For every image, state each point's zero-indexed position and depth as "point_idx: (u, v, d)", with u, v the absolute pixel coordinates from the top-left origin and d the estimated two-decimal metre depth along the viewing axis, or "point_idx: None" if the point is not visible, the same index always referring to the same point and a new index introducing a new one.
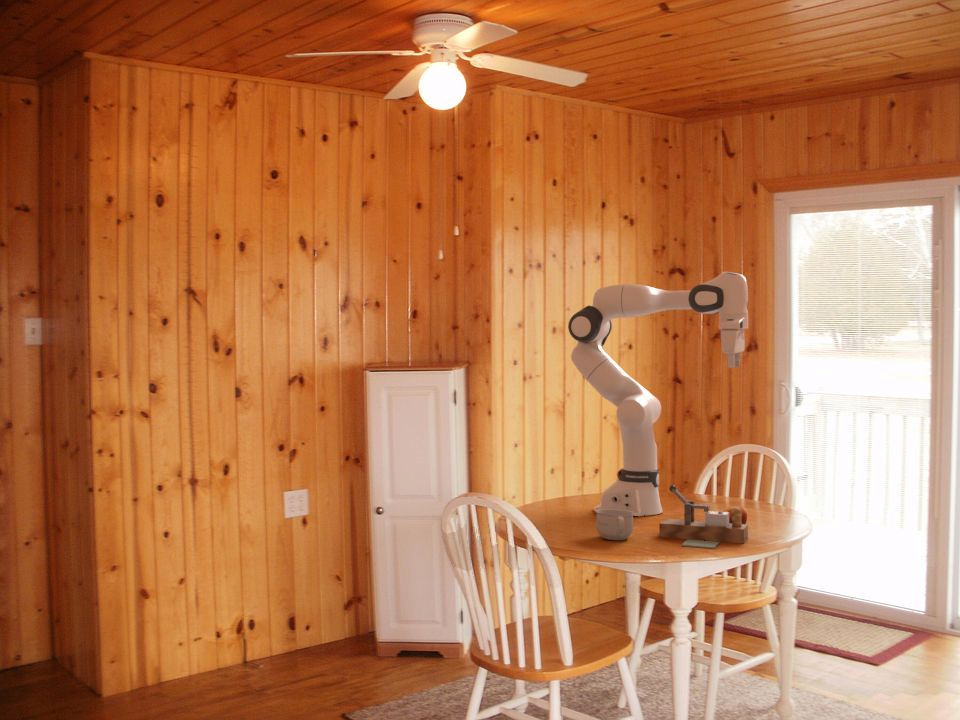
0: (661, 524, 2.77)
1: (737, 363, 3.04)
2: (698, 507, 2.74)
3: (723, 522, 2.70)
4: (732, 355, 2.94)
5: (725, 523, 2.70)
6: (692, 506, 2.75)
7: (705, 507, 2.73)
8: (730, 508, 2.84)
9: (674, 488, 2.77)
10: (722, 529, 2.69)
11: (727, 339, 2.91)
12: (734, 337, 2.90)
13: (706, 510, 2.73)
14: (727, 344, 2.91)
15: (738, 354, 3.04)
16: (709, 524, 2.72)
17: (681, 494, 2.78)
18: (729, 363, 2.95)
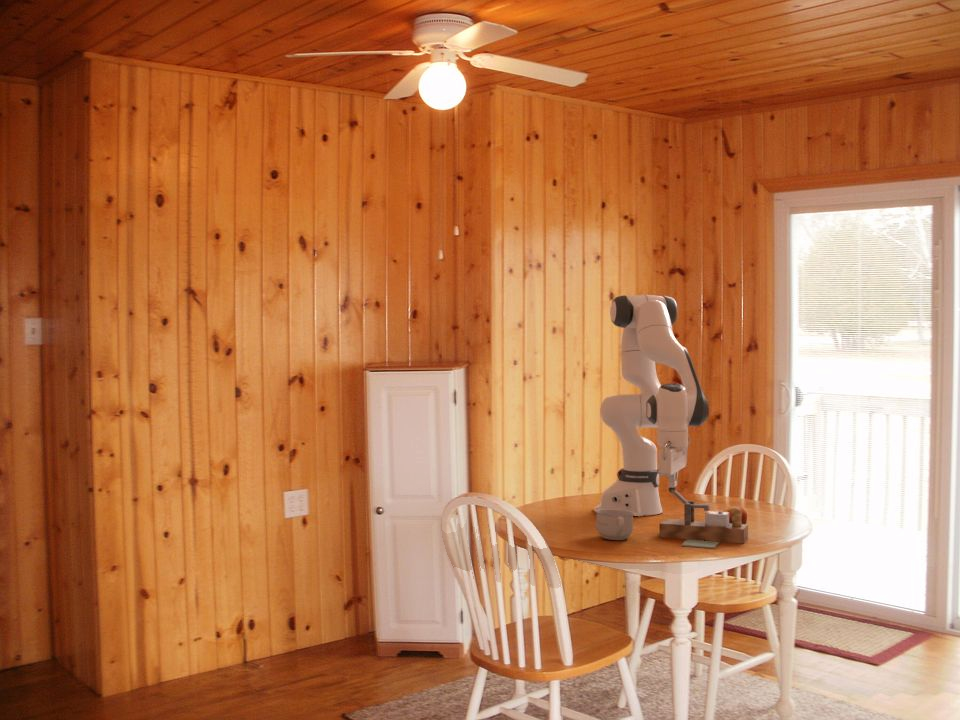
0: (661, 524, 2.77)
1: None
2: (698, 506, 2.74)
3: (723, 522, 2.70)
4: None
5: (725, 523, 2.70)
6: (692, 506, 2.75)
7: (705, 506, 2.73)
8: (730, 508, 2.84)
9: (673, 489, 2.77)
10: (722, 529, 2.69)
11: None
12: None
13: (706, 509, 2.73)
14: None
15: None
16: (709, 524, 2.72)
17: (680, 494, 2.78)
18: None
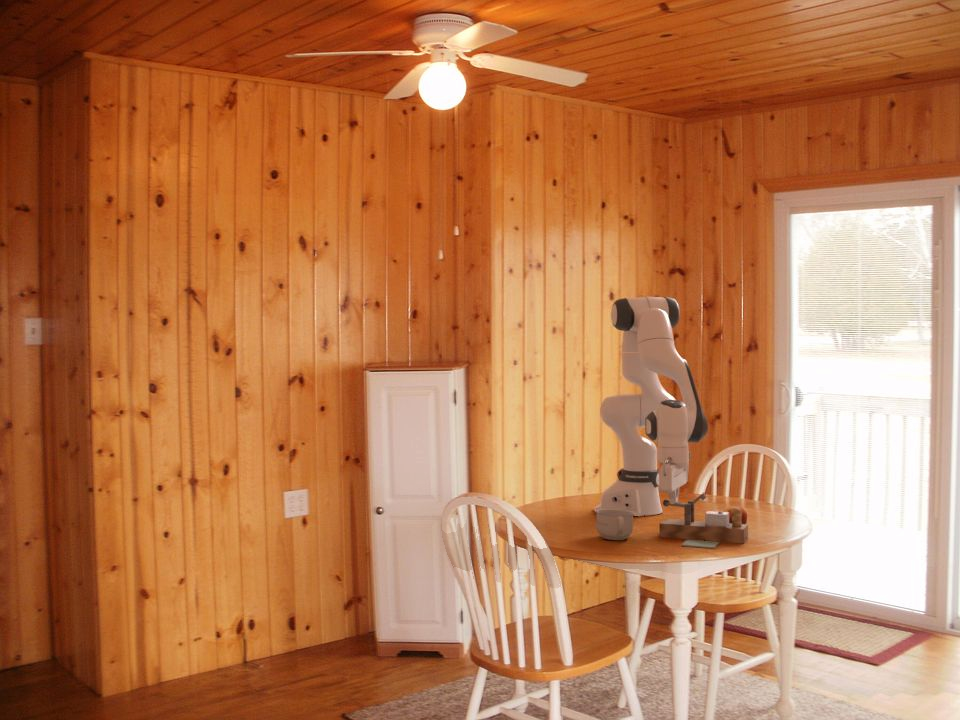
0: (661, 524, 2.77)
1: None
2: (696, 500, 2.74)
3: (723, 522, 2.70)
4: None
5: (725, 523, 2.70)
6: (691, 503, 2.75)
7: (701, 496, 2.74)
8: (730, 508, 2.84)
9: (667, 501, 2.78)
10: (722, 529, 2.69)
11: None
12: None
13: (703, 497, 2.74)
14: None
15: None
16: (709, 524, 2.72)
17: None
18: None
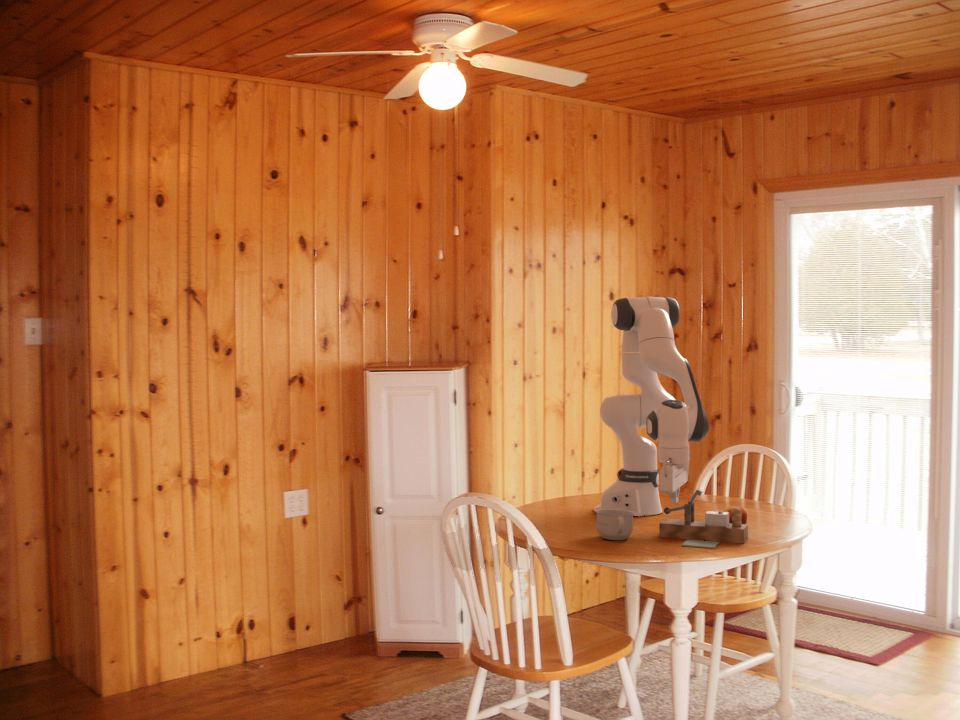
0: (661, 524, 2.77)
1: None
2: (693, 498, 2.75)
3: (723, 522, 2.70)
4: None
5: (725, 523, 2.70)
6: (690, 503, 2.75)
7: (696, 492, 2.74)
8: (730, 508, 2.84)
9: (667, 508, 2.79)
10: (722, 529, 2.69)
11: None
12: None
13: (699, 493, 2.74)
14: None
15: None
16: (709, 524, 2.72)
17: None
18: None
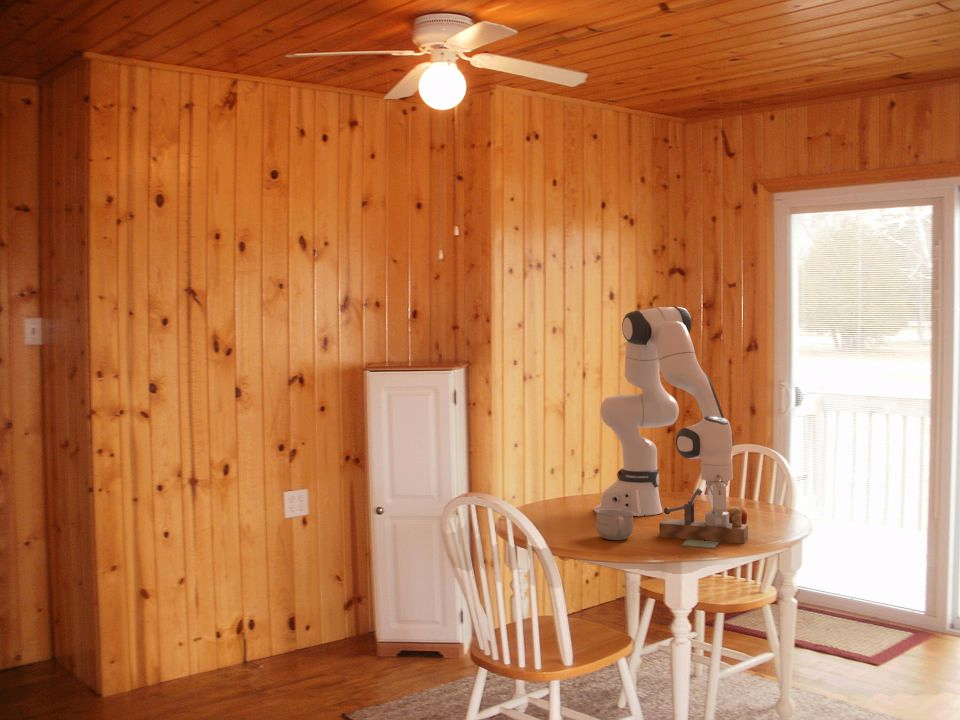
0: (661, 524, 2.77)
1: None
2: (693, 498, 2.75)
3: (723, 522, 2.70)
4: None
5: (725, 523, 2.70)
6: (690, 503, 2.75)
7: (696, 492, 2.74)
8: (730, 508, 2.84)
9: (667, 509, 2.79)
10: (722, 529, 2.69)
11: None
12: None
13: (699, 493, 2.74)
14: None
15: None
16: (709, 524, 2.72)
17: None
18: None
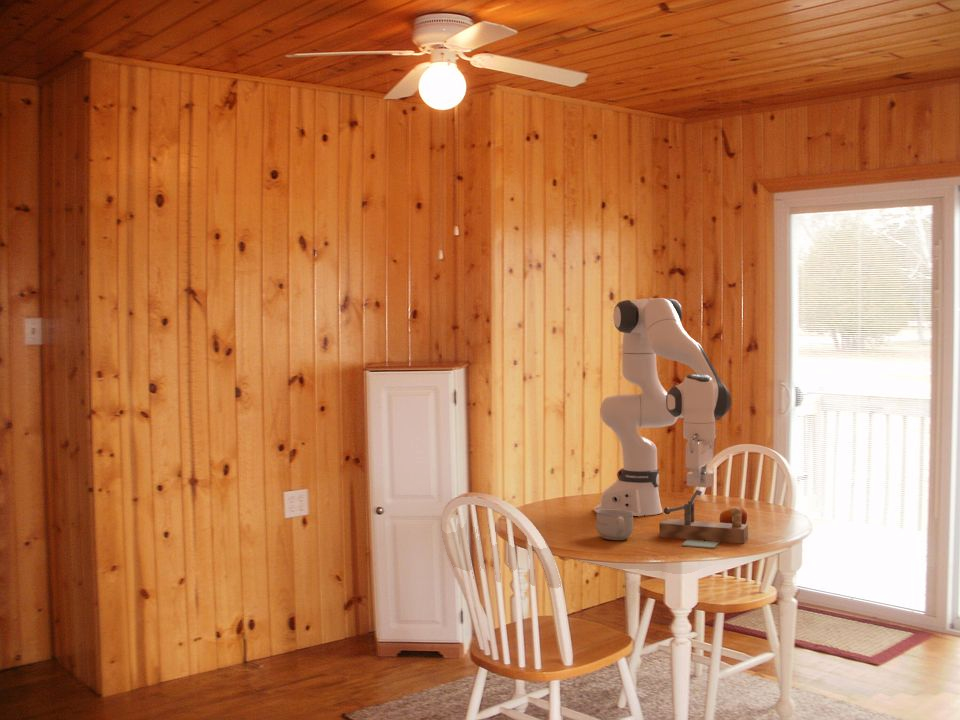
0: (661, 524, 2.77)
1: None
2: (693, 498, 2.75)
3: (703, 482, 2.63)
4: None
5: (705, 483, 2.62)
6: (690, 503, 2.75)
7: (696, 492, 2.74)
8: (730, 508, 2.84)
9: (667, 509, 2.79)
10: (722, 529, 2.69)
11: None
12: None
13: (699, 493, 2.74)
14: None
15: None
16: (690, 484, 2.65)
17: None
18: None
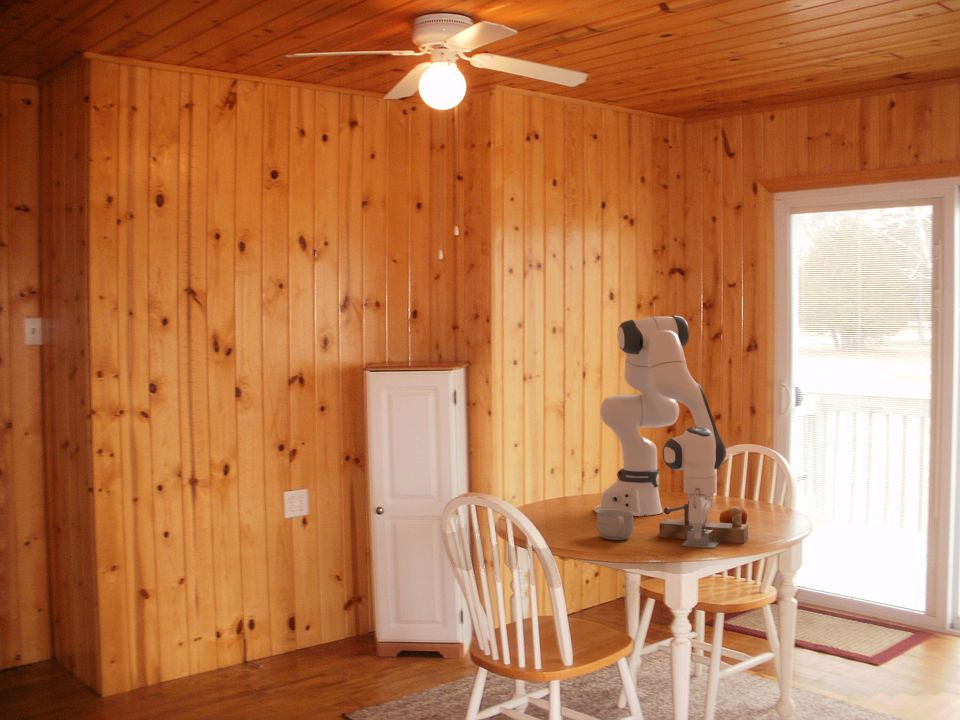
0: (661, 524, 2.77)
1: None
2: None
3: (705, 540, 2.63)
4: None
5: (707, 542, 2.63)
6: None
7: None
8: (730, 508, 2.84)
9: (667, 509, 2.79)
10: (722, 529, 2.69)
11: None
12: None
13: None
14: None
15: None
16: (691, 542, 2.66)
17: None
18: None
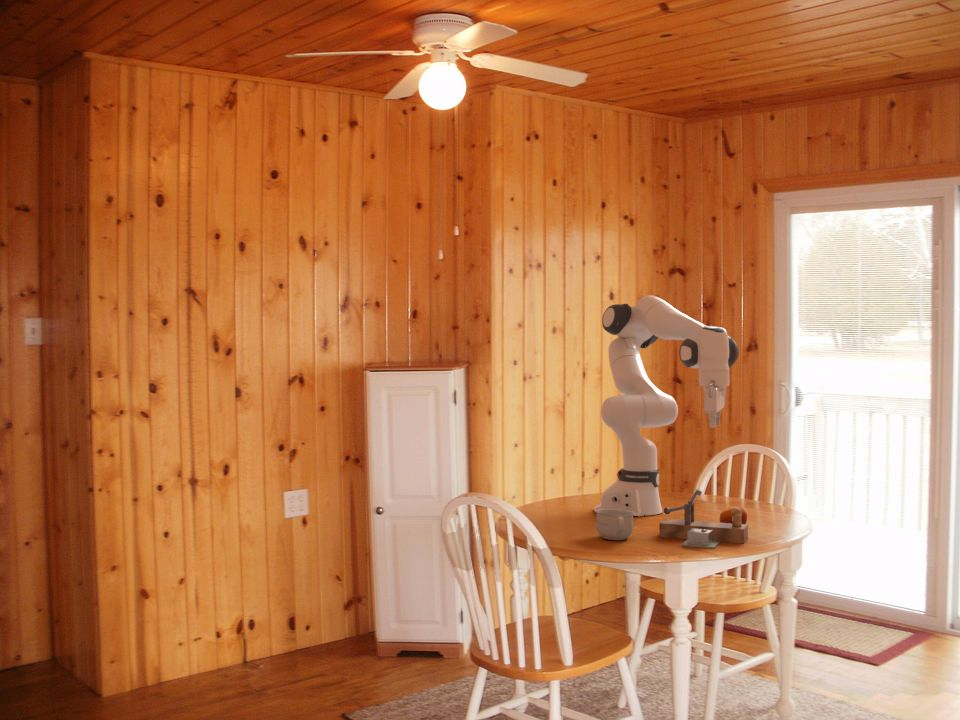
0: (661, 524, 2.77)
1: None
2: (693, 498, 2.75)
3: (705, 540, 2.63)
4: None
5: (707, 542, 2.63)
6: (690, 503, 2.75)
7: (696, 492, 2.74)
8: (730, 508, 2.84)
9: (667, 509, 2.79)
10: (722, 529, 2.69)
11: None
12: None
13: (699, 493, 2.74)
14: None
15: None
16: (691, 542, 2.66)
17: None
18: None
